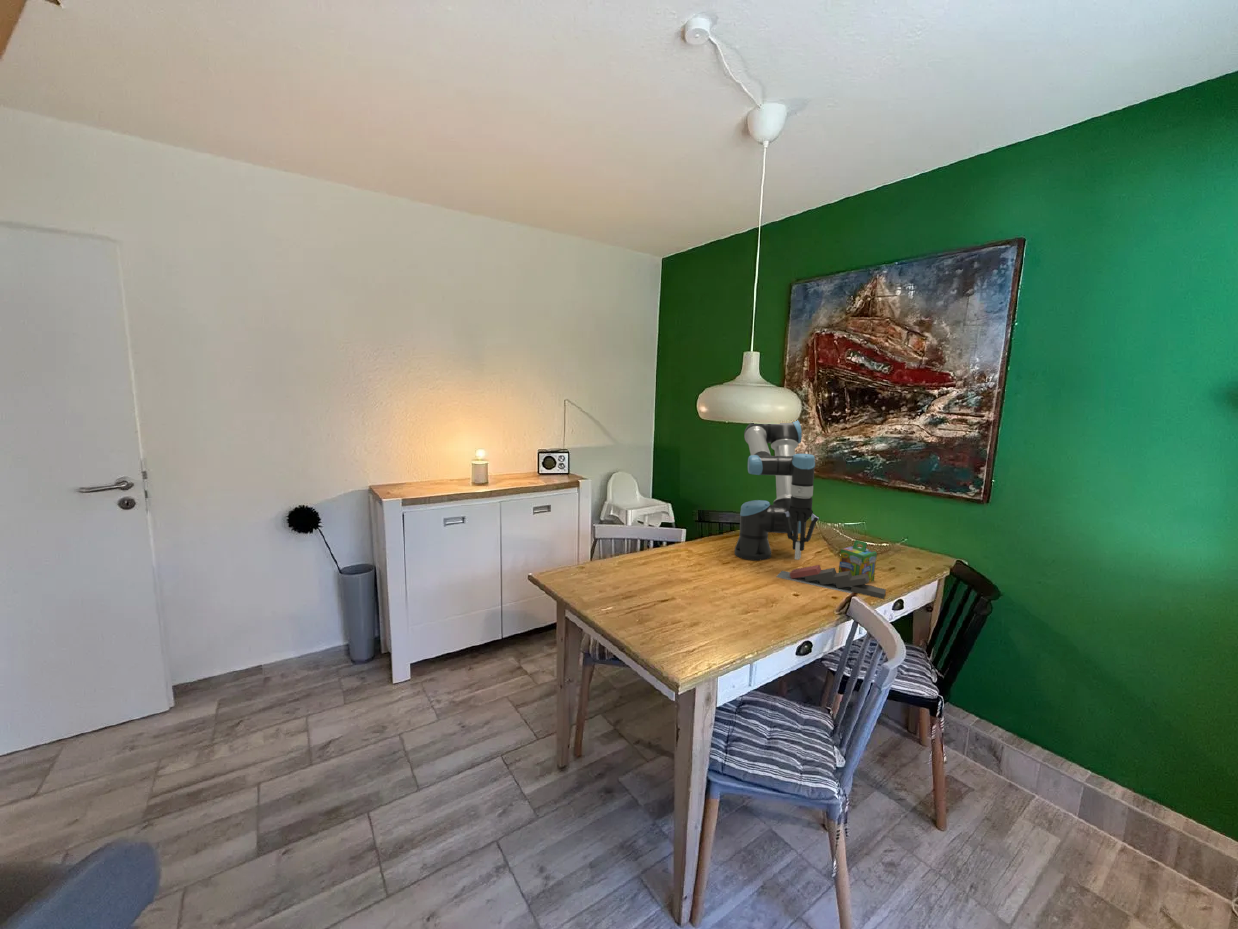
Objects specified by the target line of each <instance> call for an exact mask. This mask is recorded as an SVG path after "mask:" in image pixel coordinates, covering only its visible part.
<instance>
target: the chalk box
mask: <svg viewBox="0 0 1238 929" xmlns="http://www.w3.org/2000/svg"><path fill="white" fill-rule="evenodd" d="M858 545H861V546H858ZM867 546H868V542H866V541H861V540H857V539H855V540H854V541H853V545H852V546H848V547H843V548H841V549H840V555H839V556H840V557H839V565H838V573H839V572H845V571H850V572H851V574H852V576H856V575H862V574H867V575H868V577H869V581H868V583H871V582H874V581H875V577H876V576H875V574H876V566H877V557H878V552H877V551H875V550H872V549H868V548H867ZM868 583H867V584H868Z"/></svg>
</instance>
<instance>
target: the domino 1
mask: <svg viewBox="0 0 1238 929" xmlns="http://www.w3.org/2000/svg"><path fill="white" fill-rule="evenodd" d="M821 570H822V568H821V565H820V564H817V565H810V566H806V567H801V568H795V569H792V570H791V571H789V572H790V576H791V579H793V578H799V577H805V576H810V575H816V574H819V573H820V571H821Z"/></svg>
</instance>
